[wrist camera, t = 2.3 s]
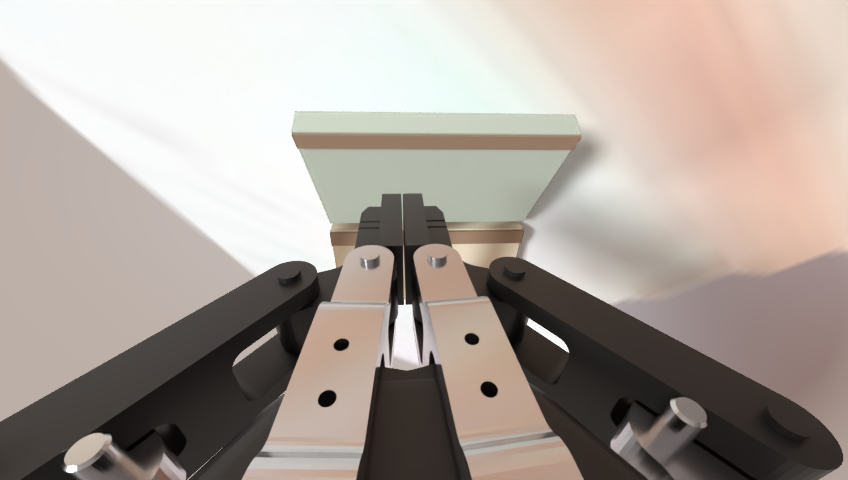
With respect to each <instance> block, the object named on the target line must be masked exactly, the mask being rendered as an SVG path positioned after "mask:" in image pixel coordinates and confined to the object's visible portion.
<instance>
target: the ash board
mask: <svg viewBox="0 0 848 480" xmlns="http://www.w3.org/2000/svg"><path fill="white" fill-rule="evenodd" d="M446 225H447V229H448V233H449V236H450V240H451V244H452V248H454V249H455V250H456V251H457V252H458V253H459V254H460V256H461V258H462V261H464V262H466V263H468V264H471V265H474V266H479V267H484V268H489V266H490V263H491V262H492V261H493V260H495V259H497V258H500V257H516V256H517V252H518V248H519V243H521V241H522V237H523V233H524V231H523V228H522V226H521V224H520V223H519V221H500V222H446ZM402 228H403V223H402ZM358 229H359V223H333V225H332V228H331V230H330V231H331V232H330V237H331V243H332V246H333V250H334V256H335V262H336V268H338V267H340V266H342V265H343V264H344V261H345V259H346V256H347V255H348V254H349V253H350V252H351V251H352V250H354V249H355V244H356V239H357V233H358ZM403 277H404V299H406V296H405V270H404V245H403Z"/></svg>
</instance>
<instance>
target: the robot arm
mask: <svg viewBox="0 0 848 480" xmlns="http://www.w3.org/2000/svg"><path fill="white" fill-rule="evenodd" d="M403 245H404V270H405V296H406V304H412V306H413V329H414V336H415V342H416V348H417V354H418V361H419V367H420V368H417V369H414V370H409V371H405V370H399V369H393V368H392V364H393V353H394V342H395V332H396V318H397V315H398V305H404V277H403ZM528 318H530V319H531V320H533V321H535V322H536V323H538V324H539V325H541V326H542V327H544V328H545V329H547V330H548V331H550V332H551V333H553V334H555V335H556V336H558V337H559V338H560V339H562V340H563V341H564V342H565V344H566V345H567V347H568V349H569V353H568V352H566V351H565V350H563V349H562V348H560V347H559V346H557V345H556V344H554V343H553V342H551V341H550V340H548V339H547V338H545V337H544V336H542V335H541V334H539V333H538V332H536V331H535V330H533V329H532V328H530V327H529V326H527V322H528ZM275 327H276V329H277V332H278V334H277V335H275V336H274V337H273V338H271V339H270V340H268V341H267V342H266V343H264V344H263V345H262V346H260V347H259V348H258V349H256V350H255V351H254V352H252V353H251V354H249V355H248V356H247V357H245V358H244V359H243V360H241V361H240V362H239V363H237V364H236V365H235V366H233V367H232V365H233V362H234V361H235V359H236V357H237V356H238V355H239V354H240V353H241V352H242V351H243V350H244V349H246V348H247V347H249V346H250V345H252V344H253V343H254V342H255V341H257V340H259V339H260V338H261V337H263V336H264V335H265V334H267V333H268V332H270V331H271V330H272V329H274V328H275ZM284 391H286V392H285V394H283V395H282V396H280V395H281V394H282V393H283V392H284ZM279 396H280V397H279ZM222 447H223V448H222ZM221 448H222V449H221ZM220 449H221V450H220ZM219 450H220V451H219ZM218 451H219V452H218ZM217 452H218V453H217ZM216 453H217V454H216ZM214 455H215V456H214ZM212 456H213V457H212ZM211 457H212V458H211ZM210 458H211V459H210ZM209 459H210V460H209ZM208 460H209V461H208ZM207 461H208V462H207ZM206 462H207V463H206ZM842 462H843V453H842V450H841V448H840V445H839V444H838V442H837V440H836V439H835V438H834V436H833V435H832V434H831V432H830V431H829V430H828V429H827V428H826V427H825V426H824V425H823V424H822V423H821V422H820V421H819V420H818V419H817V418H815V417H814V416H813V415H812V414H810V413H809V412H808V411H806V410H805V409H804V408H802V407H801V406H799V405H798V404H796V403H795V402H793V401H791V400H789V399H787V398H785V397H784V396H782V395H780V394H778V393H776V392H774V391H772V390H770V389H769V388H767V387H765V386H763V385H761V384H759V383H757V382H755V381H753V380H751V379H750V378H748V377H745V376H744V375H742V374H740V373H738V372H736V371H734V370H732V369H731V368H729V367H727V366H725V365H723V364H721V363H719V362H717V361H715V360H714V359H712V358H710V357H708V356H706V355H704V354H702V353H700V352H698V351H697V350H694V349H693V348H691V347H689V346H687V345H685V344H683V343H681V342H679V341H678V340H675V339H674V338H672V337H670V336H668V335H666V334H664V333H662V332H660V331H659V330H657V329H655V328H653V327H651V326H649V325H647V324H645V323H643V322H642V321H640V320H638V319H636V318H634V317H632V316H630V315H628V314H626V313H624V312H622V311H621V310H618V309H617V308H615V307H613V306H611V305H609V304H607V303H606V302H604V301H602V300H600V299H598V298H596V297H594V296H592V295H590V294H588V293H587V292H585V291H583V290H581V289H579V288H577V287H575V286H573V285H571V284H569V283H568V282H566V281H564V280H562V279H560V278H558V277H556V276H554V275H552V274H551V273H549V272H547V271H545V270H543V269H541V268H539V267H537V266H535V265H533V264H532V263H530V262H528V261H526V260H523V259H520V258H516V257H500V258H497V259H495V260H493V261H492V262H491V263H490V266H489V268H484V267H479V266H474V265H471V264H468V263H466V262H464V261H462V258H461V256H460V254H459V253H458V252H457V251H456V250H455V249H454V248H452V244H451V240H450V236H449V233H448V229H447V225H446V221H445V218H444V214H443V212H442V211H441V210H440V209H439V208H438V207H437V206H424V203H423V197H422V193H407V194H403V228H402V201H401V194H382V200H381V206H380V207H367V208H366V209H365V210H364V211H363V212H362V213H361V217H360V223H359V229H358V233H357V239H356V244H355V249H354V250H352V251H351V252H350V253H349V254H348V255H347V256H346V259H345V261H344V264H343V265H342V266H340V267H338V268H335V269H332V270H328V271H324V272H320V273H317V270H316V268H315V267H314V266H313V265H312V264H310V263H308V262H304V261H291V262H286V263H282V264H279V265H277V266H275V267H273V268H271V269H269V270H268V271H266V272H264V273H262V274H261V275H259V276H257V277H255V278H254V279H252V280H250V281H248V282H247V283H245V284H243V285H241V286H239V287H238V288H236V289H234V290H232V291H231V292H229V293H227V294H225V295H224V296H222V297H220V298H218V299H216V300H215V301H213V302H211V303H210V304H208V305H206V306H204V307H202V308H201V309H199V310H197V311H195V312H194V313H192V314H190V315H188V316H186V317H185V318H183V319H181V320H179V321H178V322H176V323H174V324H172V325H171V326H169V327H167V328H165V329H164V330H162V331H160V332H158V333H156V334H155V335H153V336H151V337H150V338H148V339H146V340H144V341H142V342H141V343H139V344H137V345H135V346H134V347H132V348H130V349H128V350H126V351H125V352H123V353H121V354H119V355H118V356H116V357H114V358H112V359H111V360H109V361H107V362H105V363H103V364H102V365H100V366H98V367H97V368H95V369H93V370H91V371H89V372H88V373H86V374H84V375H83V376H80V377H79V378H77V379H75V380H74V381H72V382H70V383H68V384H66V385H65V386H63V387H61V388H59V389H58V390H56V391H54V392H52V393H51V394H49V395H47V396H45V397H43V398H42V399H40V400H38V401H36V402H35V403H33V404H31V405H29V406H28V407H26V408H24V409H22V410H21V411H19V412H17V413H15V414H13V415H12V416H10V417H8V418H6V419H5V420H3V421H1V422H0V480H187V479H188V478H189V477H190V476H191V475H192V474H193V473H195V472H196V471H197V470H198V469H199V468H200V467H201V466H202V465H204V464H205V463H206V464H205V465H204V466H203V467H202V468H201V469H200V470H199V471H197V472H196V473H195V474H194V475H193V476H192V477H191V478H190V479H189V480H819V479H820V478H822V477H824V476H825V475H827V474H829V473H830V472H832V471H834V470H835V469H837V468H838V467H839V466H840V465H842Z"/></svg>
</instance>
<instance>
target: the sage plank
mask: <svg viewBox="0 0 848 480" xmlns="http://www.w3.org/2000/svg"><path fill="white" fill-rule="evenodd" d="M291 132H292V137H293V140H294V142H295V144H296V147H297V149H299V151H300V153H301V155H302V158H303V160H304V162H305V165H306V167H307V169H308V172H309V174H310V176H311V179H312V181H313V183H314V186H315V188H316V190H317V193H318V195H319V198H320V200H321V202H322V205H323V207H324V209H325V212H326V214H327V216H328V219H329V221H330V223H360V217H361V213H362V212H363V211H364V210H365V209H366V208H367V207H380V206H381V200H382V194H401V201H402V223H403V194H407V193H422V197H423V203H424V206H437V207H438V208H439V209H440V210H441V211H442V212H443V214H444V218H445V221H446V222H500V221H524V220H525V218H526V217H527V215H528V214H529V212H530V211H531V209H532V208H533V206H534V205H535V203H536V202H537V200H538V199H539V197H540V196H541V194H542V193H543V191H544V190H545V188H546V187H547V185H548V184H549V182H550V181H551V179H552V178H553V176H554V175H555V173H556V172H557V170H558V169H559V167H560V166H561V164H562V163H563V161H564V160H565V158H566V157H567V155H568V154H569V152H570V151H571V150H573V149H574V148H575V146H576V145H577V143H578V142H579V141H580V139H581V138H582V137H581V135H582V133H581V130H580V127H579V125H578V122H577V119H576V116H575V115H564V114H483V113H402V112H321V111H295V115H294V121H293V126H292V131H291Z"/></svg>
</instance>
